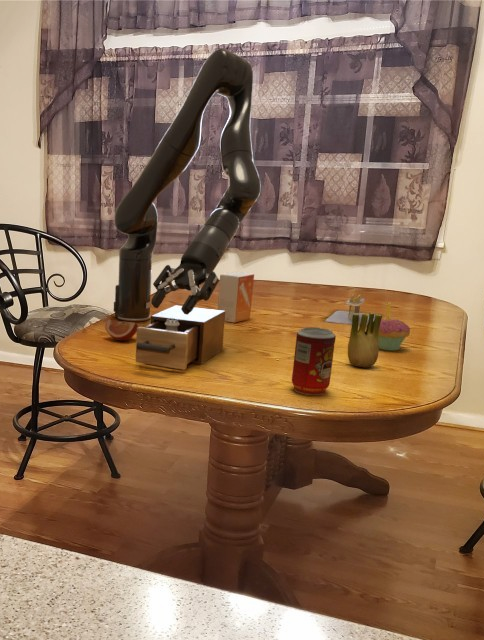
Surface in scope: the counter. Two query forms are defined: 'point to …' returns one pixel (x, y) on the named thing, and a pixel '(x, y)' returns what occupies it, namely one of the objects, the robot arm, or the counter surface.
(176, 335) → the drawer
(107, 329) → the fruit slice
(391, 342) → the cupcake
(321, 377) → the red food can
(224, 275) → the small box
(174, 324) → the rook chess piece
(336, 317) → the platform
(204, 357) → the cabinet
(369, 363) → the fennel bulb
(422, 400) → the counter surface
